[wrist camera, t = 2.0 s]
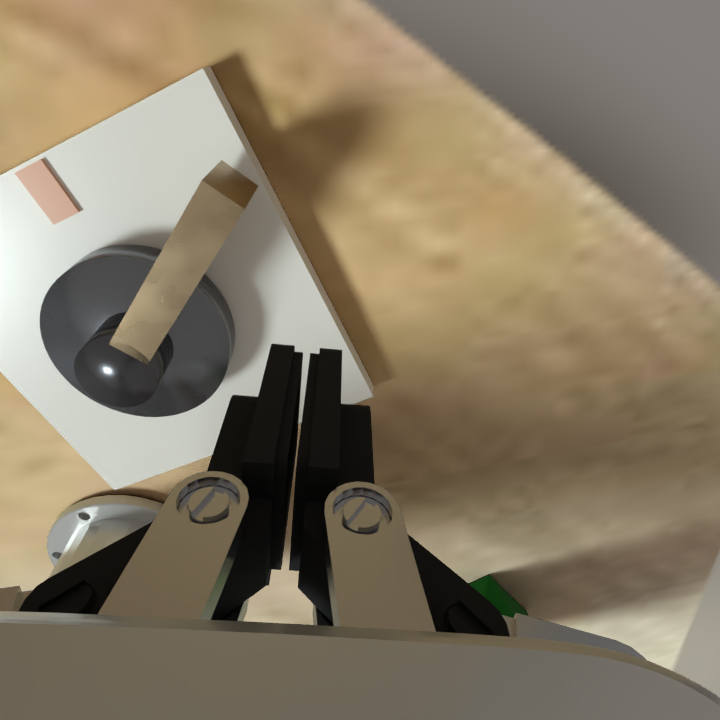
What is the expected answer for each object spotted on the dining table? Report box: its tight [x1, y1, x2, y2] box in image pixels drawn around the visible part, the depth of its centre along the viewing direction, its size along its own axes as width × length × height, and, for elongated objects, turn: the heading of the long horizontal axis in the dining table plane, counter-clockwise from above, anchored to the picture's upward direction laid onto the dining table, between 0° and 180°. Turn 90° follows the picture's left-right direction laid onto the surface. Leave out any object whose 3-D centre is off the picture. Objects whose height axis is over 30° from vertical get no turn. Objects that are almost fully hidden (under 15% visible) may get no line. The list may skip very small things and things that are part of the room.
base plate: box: [0, 67, 373, 490], centre depth 31 cm, size 20×20×2 cm
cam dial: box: [40, 160, 258, 417], centre depth 27 cm, size 16×10×5 cm, turn 143°
